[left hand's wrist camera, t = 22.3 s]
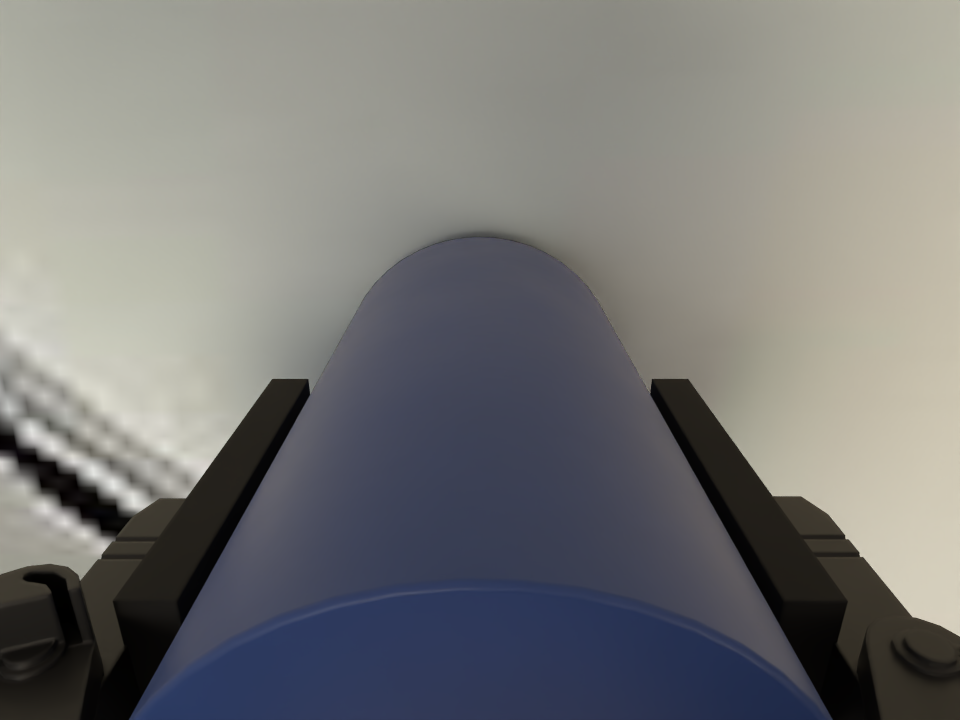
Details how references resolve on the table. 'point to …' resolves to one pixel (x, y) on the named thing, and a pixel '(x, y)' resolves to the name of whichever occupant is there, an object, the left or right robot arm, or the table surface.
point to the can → (480, 531)
